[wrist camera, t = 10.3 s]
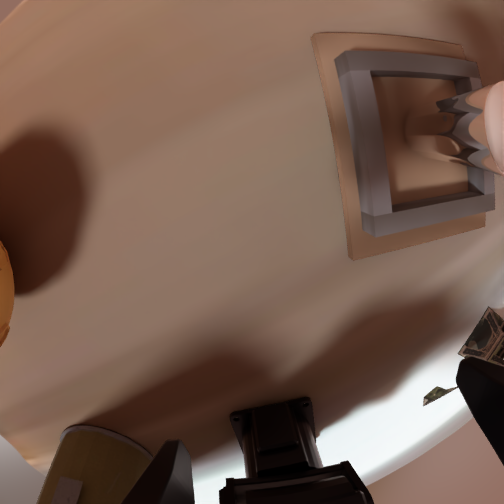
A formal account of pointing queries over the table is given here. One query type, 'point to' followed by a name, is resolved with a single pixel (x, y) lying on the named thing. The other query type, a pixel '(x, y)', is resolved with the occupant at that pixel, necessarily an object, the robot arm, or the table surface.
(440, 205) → the frame
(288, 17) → the table surface
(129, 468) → the canister
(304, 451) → the robot arm
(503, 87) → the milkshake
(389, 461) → the table surface
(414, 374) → the table surface
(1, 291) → the stress ball
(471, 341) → the eiffel tower figurine
